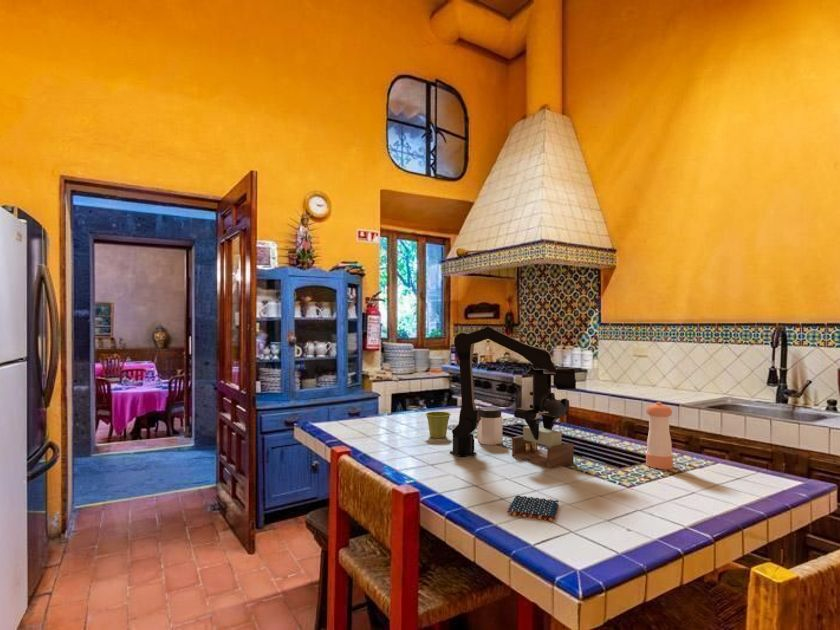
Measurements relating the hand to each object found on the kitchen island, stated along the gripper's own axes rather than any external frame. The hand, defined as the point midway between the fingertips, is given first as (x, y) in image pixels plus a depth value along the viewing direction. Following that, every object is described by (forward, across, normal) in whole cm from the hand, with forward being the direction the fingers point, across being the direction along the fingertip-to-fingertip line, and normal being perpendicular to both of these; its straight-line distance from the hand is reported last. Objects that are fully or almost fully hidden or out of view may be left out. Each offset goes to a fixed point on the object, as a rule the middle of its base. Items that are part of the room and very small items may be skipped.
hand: (541, 438), depth 158 cm
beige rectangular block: (+1, 0, 0) cm, 1 cm away
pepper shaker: (+7, +25, -24) cm, 35 cm away
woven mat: (+7, -33, -30) cm, 45 cm away
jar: (+7, +1, +26) cm, 27 cm away
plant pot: (+7, -10, +44) cm, 45 cm away
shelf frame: (+6, 0, 0) cm, 6 cm away
